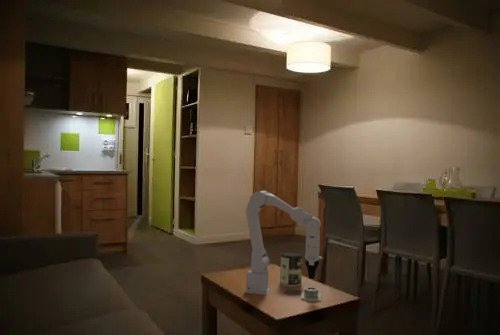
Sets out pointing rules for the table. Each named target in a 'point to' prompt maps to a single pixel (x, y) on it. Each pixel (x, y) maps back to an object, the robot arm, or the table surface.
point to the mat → (293, 292)
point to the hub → (311, 298)
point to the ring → (311, 292)
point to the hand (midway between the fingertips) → (311, 278)
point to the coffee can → (291, 268)
